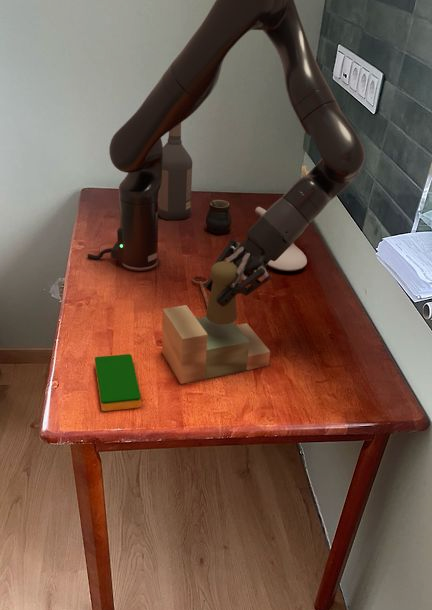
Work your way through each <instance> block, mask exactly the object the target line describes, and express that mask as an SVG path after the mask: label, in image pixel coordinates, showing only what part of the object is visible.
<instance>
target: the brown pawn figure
mask: <svg viewBox="0 0 432 610" xmlns="http://www.w3.org/2000/svg"><path fill="white" fill-rule="evenodd" d="M237 269H238V268H237V267H236V265H234V264H233V263H231V262H226V260H224V261H222V262H217V263H216V262H215V263H214V264H213V265H212V266H211V269H210V278H211V279H212V280H213V283H212V288H211V292H210V293H209V294H210V295H209V297H208V300H209V303H208V308H207V307H206V308H207V309H206V313H205V317H207V319H208V320H209V321H211V322H213V323H216V324H230V323H233V322H234V323H235V321H236V320H237V319H238V310H237V295H236V296H235V297H234V298H233V299H232V300H231V301H230V302H229V303H228V304H227V305H225V306H224V307H222V306H221V305H220V304H218V303H217V301H216V298H217V297H218V296H219V295H220V294H221V293H222V292H223V291H224V289H225V288H226V287H227V286H228V285H229V286H230V284H231V282H232V281H233V280H234V279H235V277H236V270H237Z"/></svg>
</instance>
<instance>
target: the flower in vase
mask: <svg viewBox="0 0 432 610" xmlns="http://www.w3.org/2000/svg"><path fill="white" fill-rule="evenodd" d="M309 172H310V170H307V166H306V165H302V166H301V174H302V175H301V176H302V177H304V176H306V175H307V174H308V173H309ZM307 262H308V260H307V256H306V254H304V252H303V251H302V250H301V249H300V248H299V247H298V246H297V245H296V244H295V242H293V244H292V245H291V246H290V247H289V248H288V249H287V250H286V251H285V252H284V253H283V254H282V255H281V256H280V257H279V258H278V259H277V260H276V261H272V260H270V261H269V263H268V264H267V266H268V267H270V268H271V269H275V270H277V271H282V272H294V271H299V270H302V269H303V268H305V266H306V265H307Z"/></svg>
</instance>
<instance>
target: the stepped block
mask: <svg viewBox="0 0 432 610" xmlns="http://www.w3.org/2000/svg"><path fill="white" fill-rule="evenodd" d="M161 325H162V326H161V328H162V329H161V331H162V332H161V333H162V335H161V338H162V339H161V352H162V355H163V357H164V358H165V360H166V362H167V364H168V365H169V367H170V368H171V370H172V371H173V373H174V375H175V377H176V378H177V380H178V382H179V383H180V385H183V384H188V383H192V382H197V381H203V380H206V379H212V378H217V377H221V376H226V375H231V374H236V373H240V372H246V371H249V370H250V371H251V370H254V369H260V368H264V367H269V365H270V357H271V351H270V349H269V348H268V347H267V345H265V343H264V342H263V341H262V339H260V337H259V336H258V335H257V334H256V333H255V331H254V329H252V327H251V326H250V325H249V324H248V323H242V324H236V323H235V321H234V322H233V323H230V324H216V323H213V322H211V321H209V320H208V319H207V317H206V316H202V317H196V316H195V314H194V313H193V312H192V311H191V309H190V308H189V307H188V305H187V304H184V305H178V306H172V307H171V306H170V307H166V308H162V323H161Z"/></svg>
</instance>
